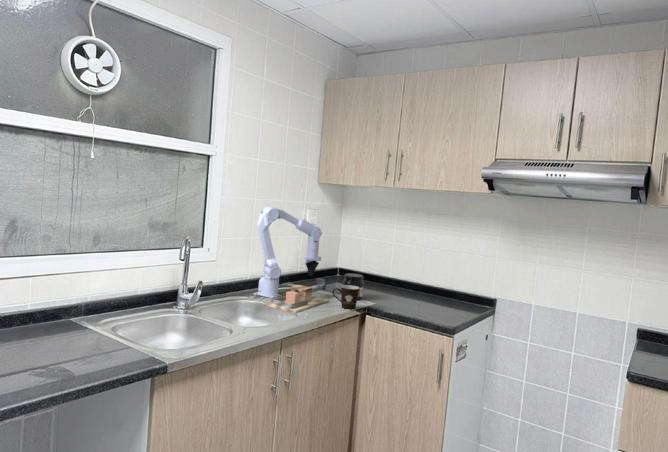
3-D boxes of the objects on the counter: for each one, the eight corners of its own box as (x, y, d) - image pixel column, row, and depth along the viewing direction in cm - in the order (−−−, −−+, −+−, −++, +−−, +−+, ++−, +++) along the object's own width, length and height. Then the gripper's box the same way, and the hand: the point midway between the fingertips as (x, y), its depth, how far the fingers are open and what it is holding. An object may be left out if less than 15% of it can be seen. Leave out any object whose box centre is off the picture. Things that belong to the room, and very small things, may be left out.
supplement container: (365, 300, 236) (367, 277, 236) (346, 300, 233) (348, 277, 232) (357, 295, 246) (359, 273, 245) (338, 295, 242) (340, 273, 241)
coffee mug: (360, 308, 219) (362, 287, 219) (352, 311, 212) (354, 290, 211) (339, 303, 225) (341, 283, 225) (330, 306, 218) (332, 285, 217)
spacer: (289, 301, 217) (285, 302, 215) (290, 291, 217) (286, 292, 214) (298, 303, 215) (294, 304, 212) (299, 293, 214) (295, 294, 212)
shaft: (295, 293, 221) (296, 283, 221) (317, 287, 238) (317, 278, 238) (304, 295, 219) (305, 285, 219) (325, 289, 236) (326, 279, 235)
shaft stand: (264, 305, 211) (265, 289, 210) (300, 295, 236) (301, 280, 235) (295, 312, 203) (296, 295, 202) (328, 301, 228) (330, 286, 227)
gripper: (311, 251, 229) (309, 278, 230) (326, 249, 242) (324, 275, 243) (300, 249, 233) (298, 276, 234) (315, 247, 245) (313, 273, 246)
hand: (310, 275), depth 238 cm, fingers closed
